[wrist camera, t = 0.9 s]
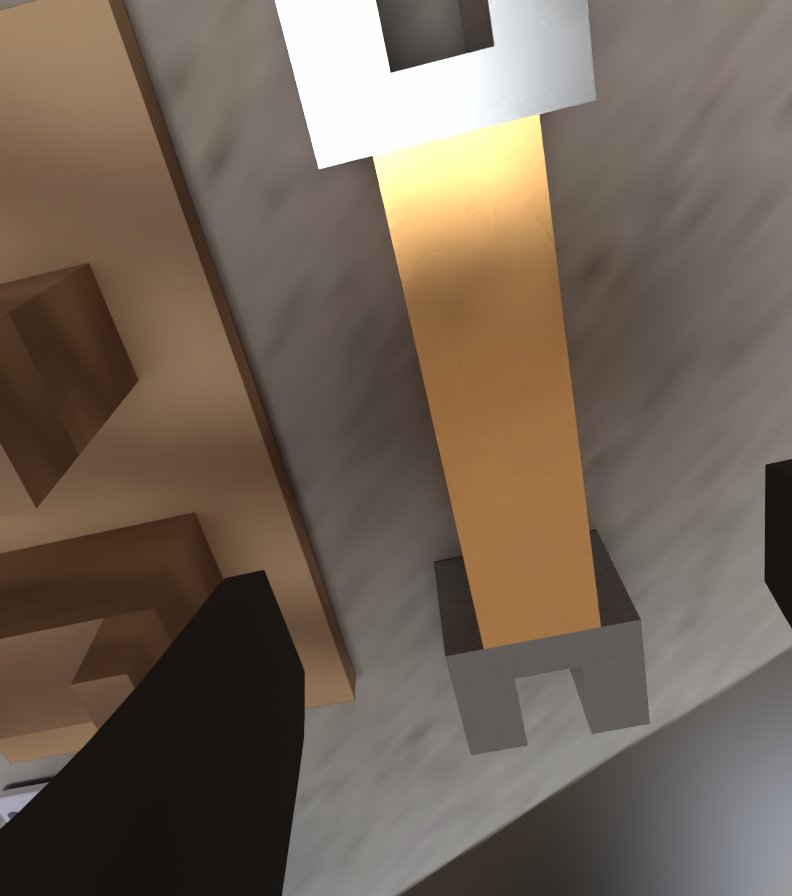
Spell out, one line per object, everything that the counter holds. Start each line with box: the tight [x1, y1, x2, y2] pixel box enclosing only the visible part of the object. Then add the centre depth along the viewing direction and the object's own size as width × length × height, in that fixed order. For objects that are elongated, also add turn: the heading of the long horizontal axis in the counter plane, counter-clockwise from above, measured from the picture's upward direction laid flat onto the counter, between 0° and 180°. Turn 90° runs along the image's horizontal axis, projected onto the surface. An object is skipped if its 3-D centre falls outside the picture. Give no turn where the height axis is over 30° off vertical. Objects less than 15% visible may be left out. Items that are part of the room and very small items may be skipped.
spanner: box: [275, 0, 650, 755], centre depth 17 cm, size 20×5×4 cm, turn 13°
